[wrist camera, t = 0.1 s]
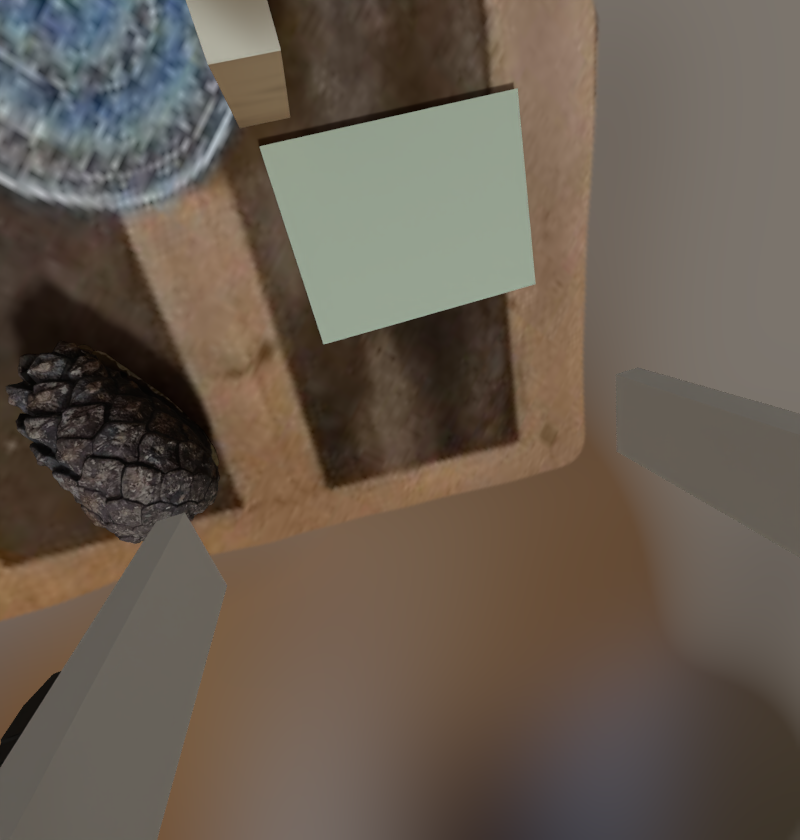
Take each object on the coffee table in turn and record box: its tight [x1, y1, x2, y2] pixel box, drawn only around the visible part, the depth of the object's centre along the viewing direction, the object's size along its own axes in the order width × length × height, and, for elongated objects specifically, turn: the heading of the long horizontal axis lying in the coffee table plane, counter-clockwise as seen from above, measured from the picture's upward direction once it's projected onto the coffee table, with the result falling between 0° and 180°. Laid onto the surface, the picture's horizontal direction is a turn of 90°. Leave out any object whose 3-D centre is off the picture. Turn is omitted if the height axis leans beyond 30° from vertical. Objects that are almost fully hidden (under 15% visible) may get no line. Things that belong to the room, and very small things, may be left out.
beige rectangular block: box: [186, 0, 290, 128], centre depth 24 cm, size 7×4×10 cm, turn 13°
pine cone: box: [6, 340, 220, 544], centre depth 31 cm, size 10×18×10 cm, turn 39°
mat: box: [259, 89, 535, 344], centre depth 34 cm, size 16×22×1 cm
